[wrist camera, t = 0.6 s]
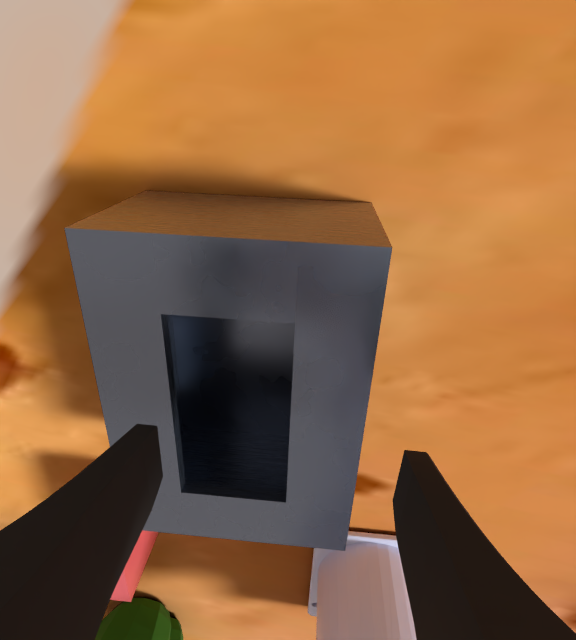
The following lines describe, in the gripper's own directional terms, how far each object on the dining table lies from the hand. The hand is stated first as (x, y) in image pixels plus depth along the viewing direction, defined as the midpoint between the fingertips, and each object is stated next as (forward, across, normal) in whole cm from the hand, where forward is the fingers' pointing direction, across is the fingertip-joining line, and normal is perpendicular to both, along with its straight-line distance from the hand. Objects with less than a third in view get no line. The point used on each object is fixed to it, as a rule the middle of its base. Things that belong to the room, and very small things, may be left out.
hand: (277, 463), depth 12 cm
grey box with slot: (+10, +2, +1) cm, 10 cm away
